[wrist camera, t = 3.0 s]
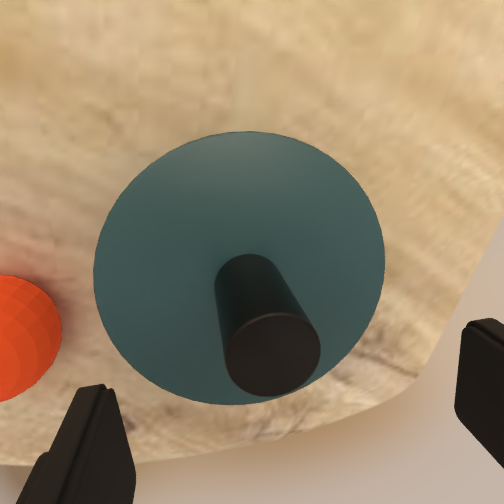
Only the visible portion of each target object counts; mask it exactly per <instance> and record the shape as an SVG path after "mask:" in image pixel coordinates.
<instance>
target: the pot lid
mask: <svg viewBox="0 0 504 504" xmlns="http://www.w3.org/2000/svg"><path fill="white" fill-rule="evenodd" d="M384 270H385V251H384V242H383V237H382V231H381V228H380V225H379V221H378V218H377V215H376V213H375V211H374V209H373V206H372V204H371V202H370V200H369V198H368V197H367V195H366V194H365V192H364V191H363V189H362V188H361V186H360V185H359V183H358V182H357V181H356V180H355V179H354V178H353V177H352V176H351V174H350V173H349V172H348V171H347V170H346V169H345V168H344V167H342V166H341V165H340V164H339V163H338V162H336V161H335V160H334V159H333V158H331V157H330V156H328V155H327V154H325V153H323V152H322V151H320V150H318V149H317V148H315V147H313V146H311V145H308V144H306V143H304V142H301V141H299V140H296V139H294V138H290V137H286V136H282V135H278V134H273V133H264V132H254V131H245V132H227V133H221V134H216V135H210V136H206V137H203V138H200V139H197V140H194V141H191V142H188V143H186V144H184V145H182V146H180V147H178V148H176V149H173V150H171V151H169V152H168V153H166V154H165V155H163V156H162V157H160V158H159V159H157V160H156V161H154V162H153V163H151V164H150V165H149V166H148V167H147V168H146V169H144V170H143V171H142V172H141V173H140V174H139V175H138V176H137V177H135V178H134V179H133V181H132V182H131V183H130V184H129V185H128V186H127V188H126V189H125V190H124V191H123V192H122V194H121V195H120V196H119V198H118V199H117V201H116V203H115V204H114V206H113V207H112V209H111V211H110V212H109V214H108V216H107V219H106V221H105V223H104V226H103V228H102V230H101V233H100V236H99V240H98V244H97V248H96V251H95V260H94V269H93V278H94V293H95V298H96V304H97V308H98V311H99V314H100V317H101V320H102V323H103V326H104V328H105V329H106V331H107V333H108V335H109V337H110V339H111V341H112V343H113V344H114V345H115V347H116V348H117V350H118V351H119V352H120V354H121V355H122V356H123V357H124V359H125V360H126V361H127V362H128V363H129V364H130V365H131V366H132V367H133V368H134V369H135V370H136V371H138V372H139V373H140V374H141V375H143V376H144V377H145V378H146V379H148V380H149V381H151V382H152V383H154V384H156V385H157V386H159V387H161V388H162V389H164V390H167V391H169V392H171V393H173V394H175V395H178V396H181V397H184V398H187V399H190V400H193V401H198V402H204V403H209V404H219V405H245V404H252V403H260V402H264V401H268V400H272V399H276V398H279V397H282V396H285V395H288V394H290V393H293V392H295V391H297V390H299V389H301V388H303V387H305V386H307V385H309V384H311V383H312V382H314V381H316V380H317V379H319V378H320V377H322V376H323V375H325V374H326V373H327V372H328V371H330V370H331V369H332V368H334V367H335V366H336V365H337V364H338V363H339V362H340V361H341V360H342V359H343V358H344V357H345V356H346V355H347V354H348V353H349V352H350V351H351V349H352V348H353V347H354V346H355V344H356V343H357V342H358V341H359V339H360V338H361V336H362V334H363V333H364V331H365V330H366V328H367V326H368V324H369V322H370V320H371V318H372V316H373V314H374V312H375V309H376V307H377V304H378V301H379V298H380V294H381V290H382V285H383V281H384Z"/></svg>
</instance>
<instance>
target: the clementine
mask: <svg viewBox="0 0 504 504" xmlns="http://www.w3.org/2000/svg"><path fill="white" fill-rule="evenodd" d="M61 338H62V326H61V321H60V317H59V313H58V310H57V308H56V306H55V305H54V303H53V301H52V300H51V298H50V297H49V296H48V295H47V294H46V293H45V292H44V291H43V290H42V289H40V288H38V287H37V286H35V285H34V284H32V283H30V282H29V281H26V280H23V279H20V278H17V277H14V276H6V275H0V402H3V401H5V400H8V399H11V398H13V397H15V396H17V395H19V394H20V393H22V392H24V391H25V390H27V389H28V388H30V387H31V386H33V385H34V384H36V383H37V381H38V380H39V379H40V378H41V377H42V376H43V375H44V374H45V372H46V371H47V370H48V369H49V368H50V366H51V365H52V364H53V362H54V360H55V357H56V355H57V352H58V350H59V347H60V344H61Z"/></svg>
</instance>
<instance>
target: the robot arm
mask: <svg viewBox="0 0 504 504" xmlns="http://www.w3.org/2000/svg"><path fill="white" fill-rule="evenodd" d="M454 408H455V412H456V415H457V417H458V419H459V420H460V421H461V422H462V423H463V425H464V426H465V427H466V428H467V429H468V430H469V431H470V432H471V433H472V434H473V436H474V437H475V438H476V439H477V440H478V441H479V442H480V443H481V444H482V445H483V446H484V448H486V450H487V451H488V452H489V453H490V454H491V455H492V456H493V457H494V458H495V460H496V461H497V462H498V463H499V464H500V465H501V466H502V467H503V468H504V324H502V323H500V322H499V321H497V320H495V319H493V318H486V319H481V320H474V321H470V322H468V324H467V325H466V328H464V329H463V330H462V335H461V346H460V355H459V365H458V375H457V385H456V394H455V404H454ZM135 486H136V471H135V466H134V462H133V459H132V455H131V451H130V447H129V444H128V440H127V436H126V432H125V429H124V425H123V421H122V417H121V414H120V410H119V406H118V402H117V399H116V395H115V392H114V390H113V389H112V388H111V389H107V388H106V386H105V385H104V384H99V385H93V386H87V387H81V388H79V389H78V390H77V392H76V394H75V396H74V398H73V400H72V402H71V405H70V407H69V409H68V411H67V413H66V415H65V418H64V420H63V422H62V424H61V426H60V428H59V431H58V433H57V435H56V437H55V439H54V441H53V444H52V446H51V448H50V450H49V452H45V453H43V454H42V455H41V456H39V458H38V460H37V461H36V463H35V465H34V467H33V469H32V471H31V474H30V475H29V477H28V479H27V482H26V483H25V486H24V488H23V490H22V492H21V494H20V496H19V498H18V500H17V502H16V504H133V498H134V492H135Z"/></svg>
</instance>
